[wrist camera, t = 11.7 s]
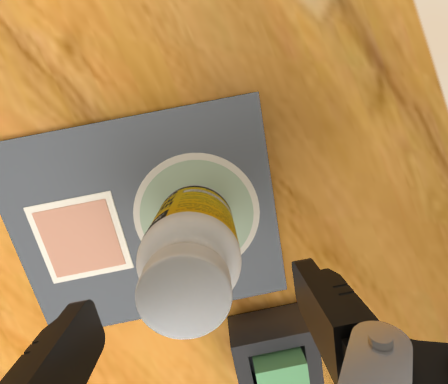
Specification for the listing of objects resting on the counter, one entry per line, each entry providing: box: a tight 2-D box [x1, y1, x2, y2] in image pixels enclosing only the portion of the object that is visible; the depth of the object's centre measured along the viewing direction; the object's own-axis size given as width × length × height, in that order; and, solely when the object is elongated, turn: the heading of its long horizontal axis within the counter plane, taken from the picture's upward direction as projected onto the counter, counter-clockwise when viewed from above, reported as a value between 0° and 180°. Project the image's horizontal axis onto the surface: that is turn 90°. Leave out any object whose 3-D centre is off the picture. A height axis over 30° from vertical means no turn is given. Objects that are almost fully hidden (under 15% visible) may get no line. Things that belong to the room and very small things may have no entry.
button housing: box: [228, 303, 324, 384], centre depth 24 cm, size 7×7×4 cm
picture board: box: [0, 92, 287, 326], centre depth 21 cm, size 20×16×1 cm
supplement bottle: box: [135, 185, 242, 339], centre depth 16 cm, size 5×5×10 cm
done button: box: [252, 347, 310, 384], centre depth 22 cm, size 4×4×2 cm
